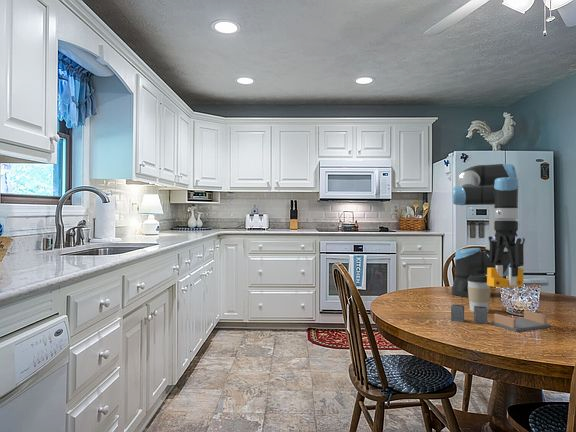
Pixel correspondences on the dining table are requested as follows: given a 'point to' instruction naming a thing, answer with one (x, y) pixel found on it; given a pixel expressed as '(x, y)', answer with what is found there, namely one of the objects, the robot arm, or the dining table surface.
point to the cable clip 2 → (480, 314)
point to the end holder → (521, 321)
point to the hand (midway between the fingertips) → (505, 283)
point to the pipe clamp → (502, 279)
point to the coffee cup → (478, 291)
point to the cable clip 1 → (457, 313)
